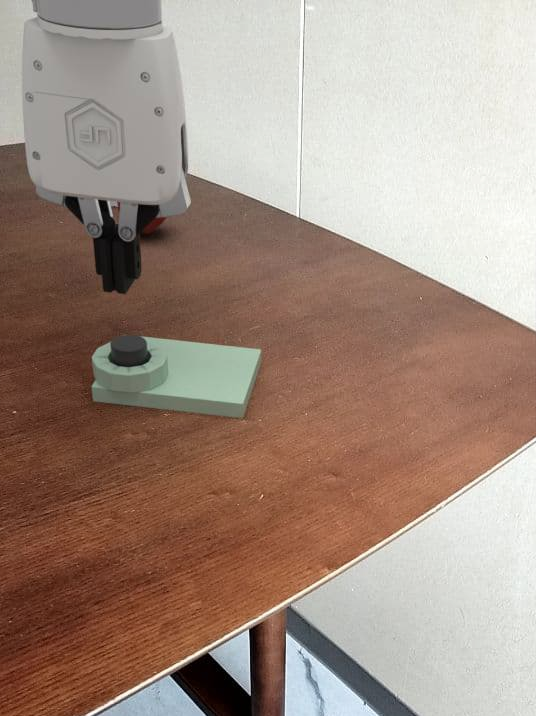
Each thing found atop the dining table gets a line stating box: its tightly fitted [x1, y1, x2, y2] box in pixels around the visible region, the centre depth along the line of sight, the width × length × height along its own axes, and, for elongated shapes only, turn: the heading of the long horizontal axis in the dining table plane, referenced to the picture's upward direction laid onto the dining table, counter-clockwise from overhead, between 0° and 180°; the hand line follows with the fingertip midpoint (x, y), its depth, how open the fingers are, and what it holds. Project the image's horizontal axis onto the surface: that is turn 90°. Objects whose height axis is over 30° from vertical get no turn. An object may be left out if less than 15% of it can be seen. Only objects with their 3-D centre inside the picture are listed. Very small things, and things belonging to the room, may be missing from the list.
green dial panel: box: [90, 335, 262, 419], centre depth 70 cm, size 12×9×3 cm
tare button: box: [109, 334, 148, 367], centre depth 68 cm, size 3×3×2 cm
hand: (120, 285), depth 64 cm, fingers closed
